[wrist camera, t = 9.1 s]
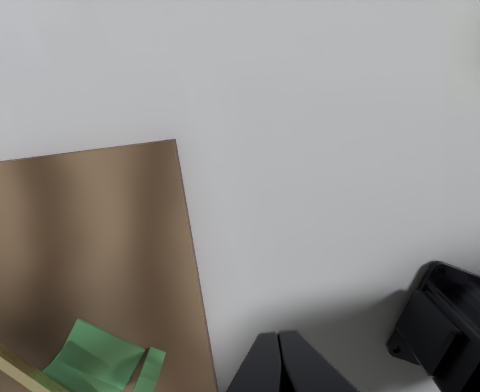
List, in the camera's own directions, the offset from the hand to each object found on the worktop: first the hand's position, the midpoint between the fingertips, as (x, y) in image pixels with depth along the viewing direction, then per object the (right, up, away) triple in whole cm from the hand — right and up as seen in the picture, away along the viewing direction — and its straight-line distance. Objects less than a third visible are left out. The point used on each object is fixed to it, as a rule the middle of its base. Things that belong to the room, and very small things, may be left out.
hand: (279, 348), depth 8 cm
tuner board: (-12, -4, +14) cm, 19 cm away
